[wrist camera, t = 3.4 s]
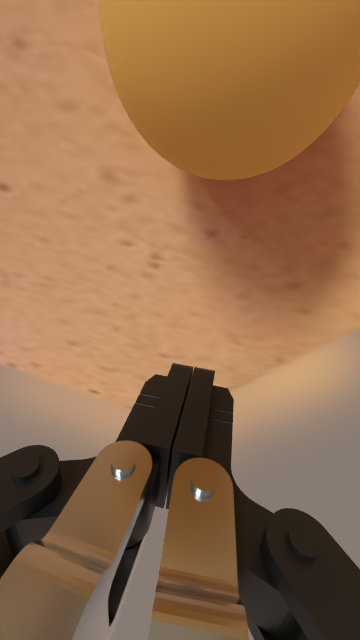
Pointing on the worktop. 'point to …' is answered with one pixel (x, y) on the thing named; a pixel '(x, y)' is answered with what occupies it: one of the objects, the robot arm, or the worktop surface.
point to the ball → (232, 77)
